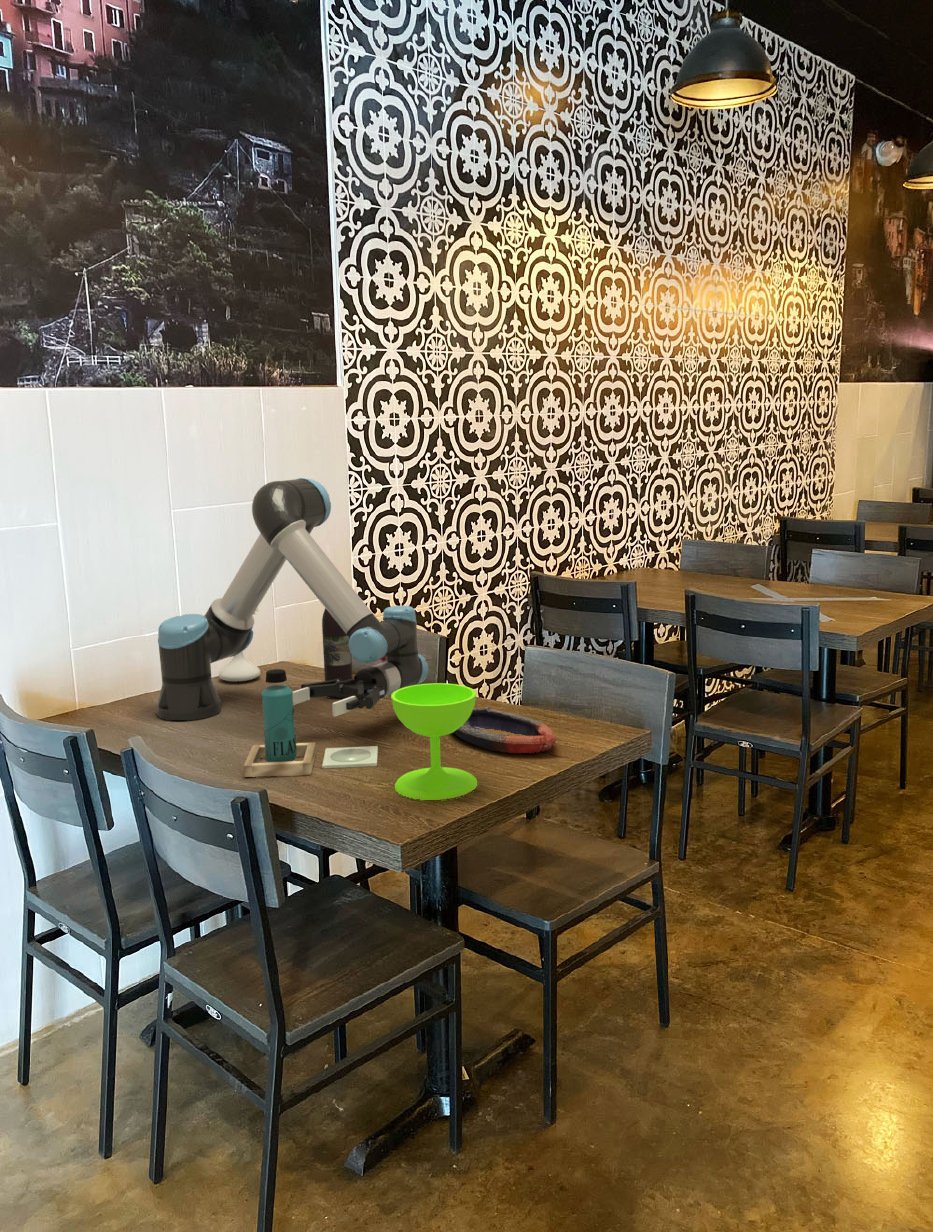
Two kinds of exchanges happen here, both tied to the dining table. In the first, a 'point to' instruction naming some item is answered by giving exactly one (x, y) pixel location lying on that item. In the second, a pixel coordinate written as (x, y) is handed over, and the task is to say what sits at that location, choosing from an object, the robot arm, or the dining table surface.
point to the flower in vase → (239, 669)
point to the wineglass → (434, 736)
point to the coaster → (350, 757)
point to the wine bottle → (335, 651)
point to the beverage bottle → (278, 719)
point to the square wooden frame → (280, 768)
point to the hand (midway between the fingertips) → (309, 705)
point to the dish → (487, 718)
